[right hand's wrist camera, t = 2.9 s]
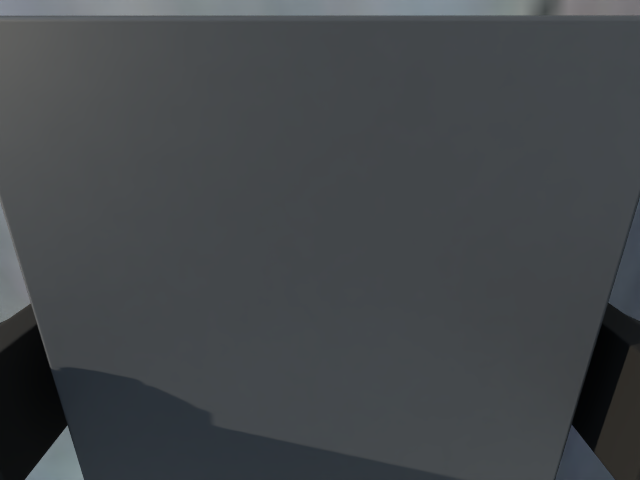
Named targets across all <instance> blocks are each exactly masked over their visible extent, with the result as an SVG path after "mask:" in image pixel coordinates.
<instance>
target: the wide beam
mask: <svg viewBox="0 0 640 480" xmlns="http://www.w3.org/2000/svg"><path fill="white" fill-rule="evenodd" d="M639 198H640V16H0V202H1V206H2V209H3V212H4V216H5V219H6V222H7V225H8V229H9V232H10V235H11V239H12V242H13V245H14V249H15V252H16V255H17V259H18V262H19V265H20V269H21V272H22V275H23V278H24V282H25V285H26V288H27V292H28V295H29V298H30V302H31V305H32V308H33V312H34V315H35V318H36V322H37V325H38V328H39V332H40V335H41V338H42V341H43V345H44V348H45V351H46V355H47V358H48V361H49V365H50V368H51V371H52V375H53V378H54V381H55V385H56V388H57V391H58V395H59V398H60V401H61V404H62V408H63V411H64V414H65V418H66V421H67V424H68V428H69V431H70V434H71V438H72V441H73V444H74V448H75V451H76V454H77V458H78V461H79V464H80V467H81V471H82V474H83V477H84V480H555V478H556V474H557V471H558V468H559V464H560V461H561V458H562V454H563V451H564V448H565V444H566V441H567V438H568V434H569V431H570V428H571V424H572V421H573V418H574V414H575V411H576V408H577V404H578V401H579V398H580V394H581V391H582V388H583V384H584V381H585V378H586V374H587V371H588V368H589V364H590V361H591V358H592V354H593V351H594V348H595V344H596V341H597V338H598V334H599V331H600V328H601V324H602V321H603V318H604V314H605V311H606V308H607V304H608V301H609V298H610V294H611V291H612V288H613V284H614V281H615V278H616V274H617V271H618V268H619V264H620V261H621V258H622V254H623V251H624V248H625V244H626V241H627V238H628V234H629V231H630V228H631V224H632V221H633V218H634V215H635V211H636V208H637V205H638V201H639Z"/></svg>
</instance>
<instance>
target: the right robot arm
mask: <svg viewBox="0 0 640 480" xmlns="http://www.w3.org/2000/svg"><path fill="white" fill-rule="evenodd" d="M67 425H68V424H67V421H66V418H65V414H64V411H63V408H62V404H61V401H60V398H59V395H58V391H57V388H56V385H55V381H54V378H53V375H52V371H51V368H50V365H49V361H48V358H47V355H46V351H45V348H44V345H43V341H42V338H41V335H40V332H39V328H38V325H37V322H36V318H35V315H34V312H33V308H32V305H31V304H29V305H28V306H27V307H25V308H24V309H22V310H21V311H19V312H18V313H16V314H15V315H14V316H12V317H11V318H9V319H8V320H5V321H3V322H1V323H0V480H25V479H26V477H27V476H28V475H29V474H30V472H31V471H32V470H33V468H34V467H35V466H36V465H37V463H38V462H39V461H40V460H41V458H42V457H43V456H44V454H45V453H46V452H47V451H48V449H49V448H50V447H51V446H52V444H53V443H54V442H55V440H56V439H57V438H58V437H59V435H60V434H61V433H62V432H63V430H64V429H65V428H66V426H67ZM572 425H573V426H574V428H575V429H576V430H577V431H578V433H579V434H580V435H581V437H582V438H583V439H584V440H585V442H586V443H587V444H588V445H589V447H590V448H591V449H592V451H593V452H594V453H595V454H596V456H597V457H598V458H599V459H600V461H601V462H602V463H603V465H604V466H605V467H606V468H607V470H608V471H609V472H610V473H611V475H612V476H613V477H614V479H615V480H640V321H638V320H636V319H634V318H632V317H629V316H627V315H625V314H624V313H622V312H621V311H619V310H618V309H616V308H615V307H613V306H612V305H611V304H609V303H608V304H607V308H606V311H605V314H604V318H603V321H602V324H601V328H600V331H599V334H598V338H597V341H596V344H595V348H594V351H593V354H592V358H591V361H590V364H589V368H588V371H587V374H586V378H585V381H584V384H583V388H582V391H581V394H580V398H579V401H578V404H577V408H576V411H575V414H574V418H573V421H572Z"/></svg>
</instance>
